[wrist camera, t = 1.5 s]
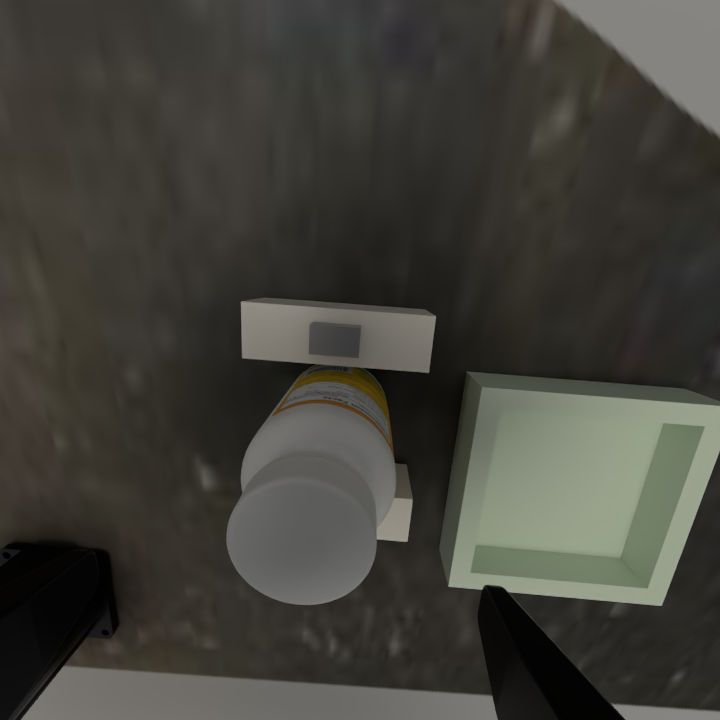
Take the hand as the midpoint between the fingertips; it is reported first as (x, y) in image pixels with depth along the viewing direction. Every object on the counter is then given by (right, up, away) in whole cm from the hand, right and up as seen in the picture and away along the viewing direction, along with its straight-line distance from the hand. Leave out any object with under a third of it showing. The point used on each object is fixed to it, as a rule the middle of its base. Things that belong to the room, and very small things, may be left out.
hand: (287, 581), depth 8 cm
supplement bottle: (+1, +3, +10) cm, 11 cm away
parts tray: (+12, -1, +11) cm, 16 cm away
